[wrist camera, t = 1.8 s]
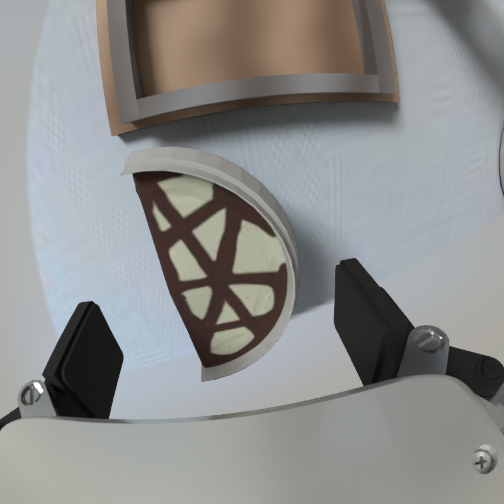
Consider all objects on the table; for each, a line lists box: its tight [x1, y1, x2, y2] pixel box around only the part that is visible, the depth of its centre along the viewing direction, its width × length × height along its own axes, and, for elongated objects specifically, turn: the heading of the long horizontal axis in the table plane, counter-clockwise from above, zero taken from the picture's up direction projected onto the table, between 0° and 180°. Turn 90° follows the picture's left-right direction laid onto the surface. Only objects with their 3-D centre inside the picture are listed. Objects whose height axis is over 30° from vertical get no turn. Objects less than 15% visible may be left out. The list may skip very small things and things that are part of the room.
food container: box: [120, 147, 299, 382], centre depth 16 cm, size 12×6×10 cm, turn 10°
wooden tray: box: [96, 0, 399, 136], centre depth 14 cm, size 20×12×3 cm, turn 98°
